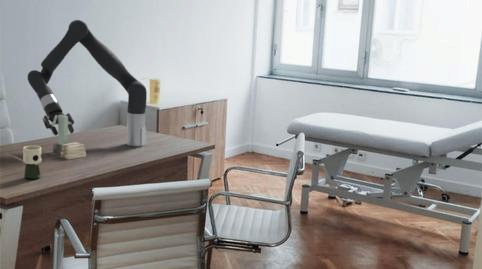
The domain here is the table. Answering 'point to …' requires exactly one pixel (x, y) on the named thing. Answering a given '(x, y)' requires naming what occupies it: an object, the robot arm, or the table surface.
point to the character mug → (32, 161)
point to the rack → (68, 151)
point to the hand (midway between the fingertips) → (64, 133)
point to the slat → (62, 129)
